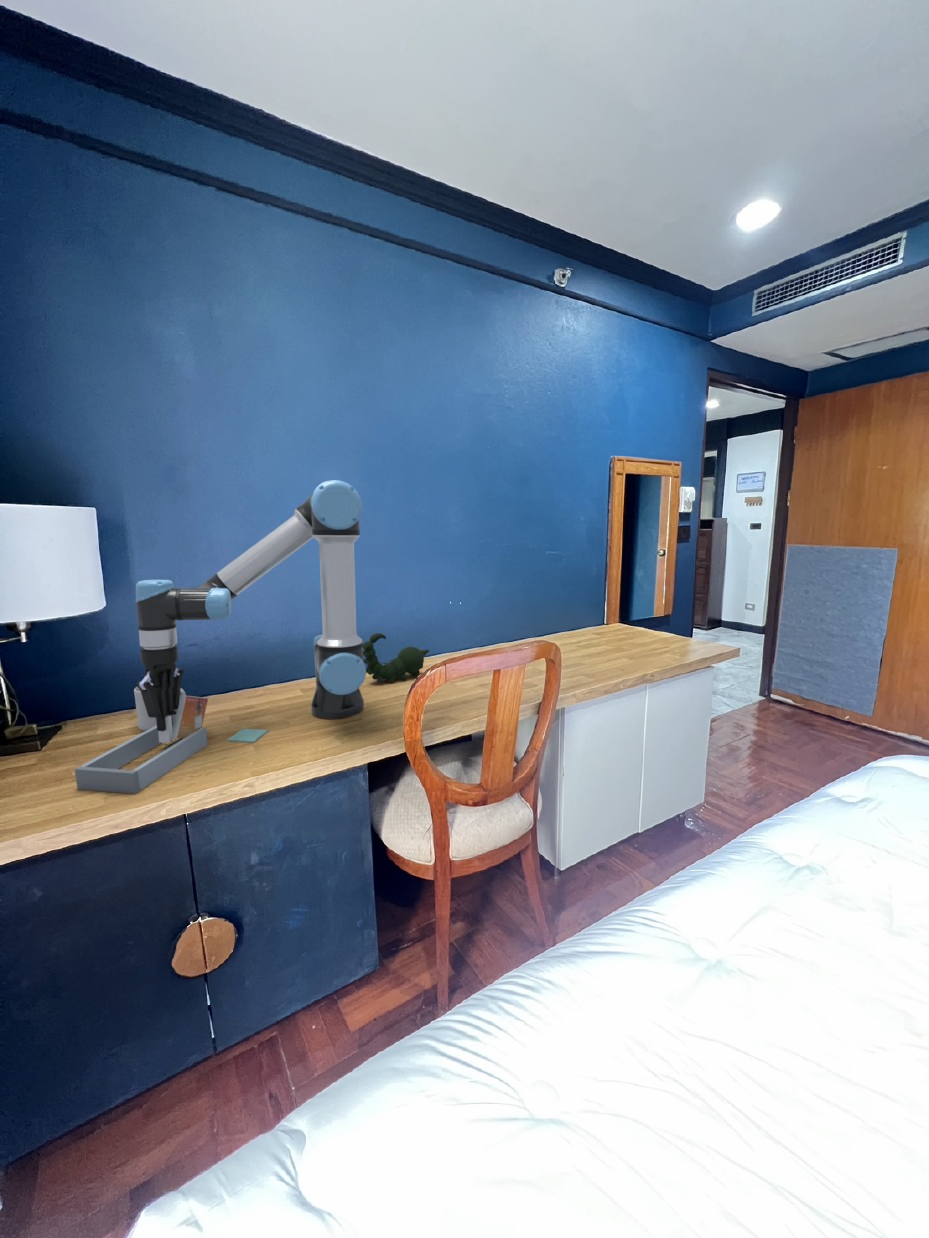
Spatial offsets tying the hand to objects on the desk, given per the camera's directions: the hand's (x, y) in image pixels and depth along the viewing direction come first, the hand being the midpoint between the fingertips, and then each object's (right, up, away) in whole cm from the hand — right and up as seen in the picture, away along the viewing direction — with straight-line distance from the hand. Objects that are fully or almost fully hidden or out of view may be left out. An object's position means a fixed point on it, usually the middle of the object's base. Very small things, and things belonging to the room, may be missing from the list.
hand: (166, 741), depth 120 cm
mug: (-11, +1, +18) cm, 21 cm away
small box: (+1, 0, +4) cm, 5 cm away
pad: (+16, -1, +9) cm, 18 cm away
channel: (0, -4, -5) cm, 6 cm away
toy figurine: (+48, +8, +57) cm, 75 cm away
